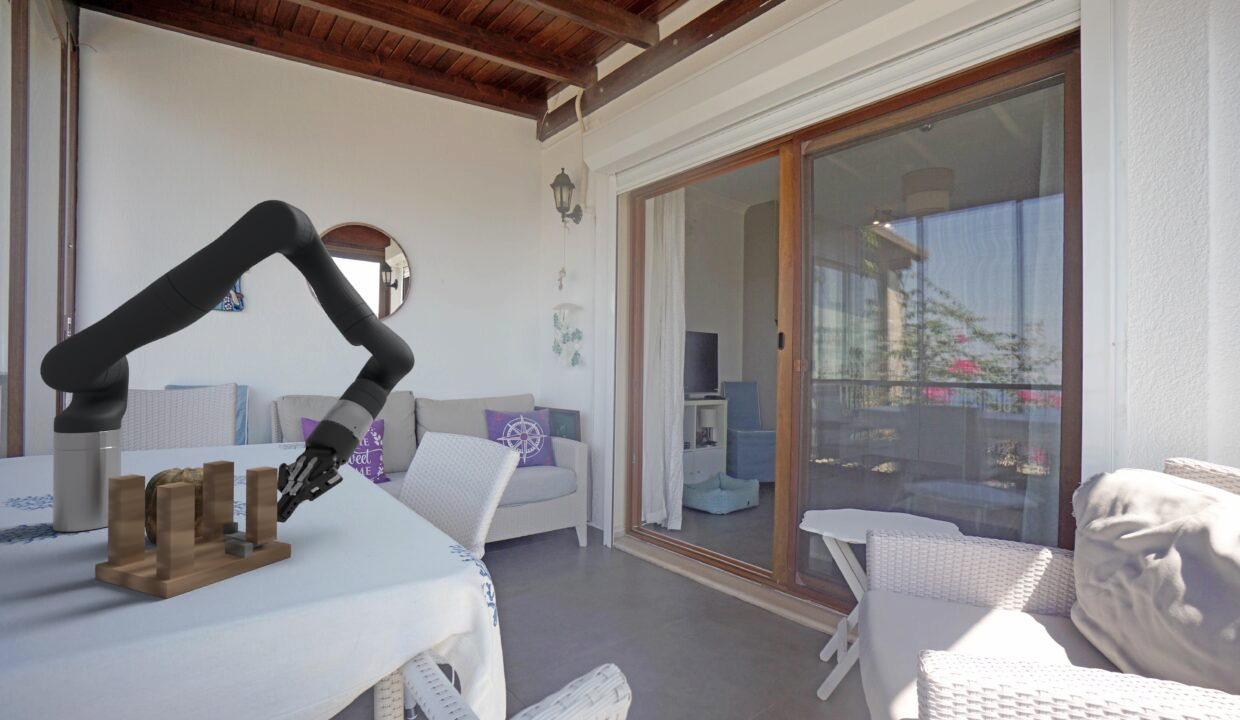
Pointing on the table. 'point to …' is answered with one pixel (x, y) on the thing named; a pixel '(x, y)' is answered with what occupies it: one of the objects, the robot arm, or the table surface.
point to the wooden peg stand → (178, 536)
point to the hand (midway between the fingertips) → (276, 519)
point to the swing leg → (257, 508)
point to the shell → (167, 478)
